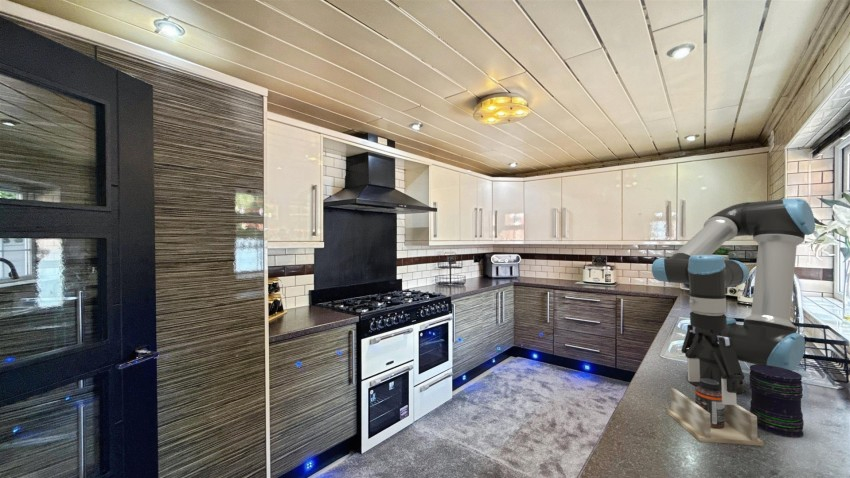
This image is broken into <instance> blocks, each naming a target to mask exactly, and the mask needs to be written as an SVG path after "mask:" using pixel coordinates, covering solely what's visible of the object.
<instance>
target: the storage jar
mask: <svg viewBox="0 0 850 478" xmlns="http://www.w3.org/2000/svg"><path fill="white" fill-rule="evenodd" d="M748 377H749V378H748V379H749V387H750V389H751V393H750V394H751V400H750V406H749V409H750V410H749V412H751V413H752V414H754V415H756V416H757V429H760V430H762V431H764V432H765V433H769V434H772V435H776V436H779V437H783V438H789V439H790V438H792V439H799V438H800V439H801V438H803V436H804V432H803V430H804V421H805V420H804V414H803V412H802V399H803V396H804V394H803V388H804V387H803V381H802V379H803V376H802V374H800V373H799V372H797V371H794V370H788V369H784V368H780V367H775V366H769V365H756V364H751V365H749V375H748Z"/></svg>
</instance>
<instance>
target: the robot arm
mask: <svg viewBox="0 0 850 478" xmlns="http://www.w3.org/2000/svg"><path fill="white" fill-rule="evenodd" d="M815 229H816V221H815V217H814V212H813V211H812V207H811V206H810V204H809V203H808V202H807V200H805V199H802V198H799V197H798V198H782V199H771V200H770V199H769V200H762V201H761V200H759V201H758V200H757V201H750V202H747V201H746V202H741V203H737V204H733V205H729V206H728V207H726V208H723V209H721V210H719V211H718V212H716V213H714V214H713V215H712V216H709V218H708V219H706V220H705V222H704V224H703V227H702V228H701V229H700V230H699V231H698V232H697V233H696V234H695V235H694V236H692V237H690V239H689V240H688V241H687V242H686V243H685V244H683V245H682V246H681V247H680V248H679V249H678V250H676V252H674V253H673V254H672V255H671V256H670V257H669V258H666V257H663V258H656V259H655V260H654V261H653V263H652V266H651V273H652V276H653V278H654V279H655V280H656V281H658V282H663V283H670V284H671V283H674V284H685V285H689V287H688V289H689V290H688V291H689V293H688V295H689V301H688V303H689V310H691V311H690V312H689V324H687V332H686V333H685V337H684V341H683V343H682V347H681V353H683V354H684V355H685V357H686V361H687V365H686V366H687V372H686V380H687V382H689V383H690V384H692V385H694V386H695V387H697V386H699V385H700V379H701V378H708V379H712V380H715V381H717V382H719V389H720V390H721V391H722V403H723V404H724V405H737V394H742V393H744V392H745V382H744V380H745V375H744V372H743V370H742V367H741V365H740V362H744V363H749V364H751V365H769V366H775V367H780V368H784V369H788V370H791V371H794V370H795V369H797V367H798V366H799V365H800V364H801V362H802V360H803V357H804V355H805V352H806V351H805V350H806V344H805V343H806V341H805V337H804V336H803V335H802V334H800V333H798V332H797V329H798V328H797V326H796V325H794V323H792V321H791V313H792V301H793V290H794V280H795V267H796V265H795V264H796V258H797V247H798V246H799V245H801V244H803V243H804V242H805V240H806V239H805V236H809V235H812V234H814V233H815ZM744 236H749V237H751V236H752V239H753V241H754V242H755V243H756V244H758V247H757V253H756V254H757V255H756V265H755V266H756V267H755V275H754V284H753V294H752V303H751V312H750V313H751V314H750V315H748V316H747V317H745V318H744V319H743V324H740V323H737V321H736V319H735V318H734V317H728V316H726V313H727V295H726V288H734V287H738V286H740V285H742V284H744V283H745V282H747V281H748V280H749V279H748V278H749V276H750V275H749V274H750V271H749V269H748V268H747V266H746V265H745V264H744V263H742V262H741V261H738V260H734V259H725V258H724V257H723V256H722V255H718V254H714V253H715V252H716V251H717V250H718V249H720V247H722V245H724V243H725V242H729V241H731V240H733V239H734V238H735V237H744Z"/></svg>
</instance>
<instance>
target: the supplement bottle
mask: <svg viewBox="0 0 850 478" xmlns="http://www.w3.org/2000/svg"><path fill="white" fill-rule="evenodd" d="M695 403H696V404H698V405H699V406H700V407H702V408H703V409H704V410H706V411H707V412H709V413H710V425H711V427H712V428H723V427H724V426H725V408H724V407H725V406H724V404H723V403H722V391H721V390H720V389H719V382H717V381H715V380H712V379H708V378H701V379H700V385H699V386H695Z"/></svg>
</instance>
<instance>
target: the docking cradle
mask: <svg viewBox="0 0 850 478" xmlns="http://www.w3.org/2000/svg"><path fill="white" fill-rule="evenodd" d="M669 390H670V391H669V394H670V398H669V399H670V400H669V401H670V408H669V407H667V408H665V412H666V413H667V414H668V415H669V416H670V417H672V418H673V419H674V421H676V422H677V423H678V424H679V425H681V426H682V428H684V429H685V431H687V432H689V434H690V435H692V437H694V438H695V439H696V440H697V441H699V442H703V443H705V442H706V443H718V444H719V443H720V444H733V445H746V446H761V447H764V446H765V443H764V441H763V440H762V439H761V438H759V437H758V428H757V416H756V415H754V414H752V413H751V412H750V410H747V409H745V408H744V407H743V406H740V405H739V404H737V405H724V406H725V407H724V408H725V426H724V427H723V428H712V427H711V425H710V413H709V412H707V411H706V410H704V409H703V408H702V407H700V406H699V405H698V404H696V401H694V400H692V399H691V398H689V397H688V396H687V395H685V394H684V393H682V392H681V391H679V390H678V389H676V388H675V387H670V389H669Z"/></svg>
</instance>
